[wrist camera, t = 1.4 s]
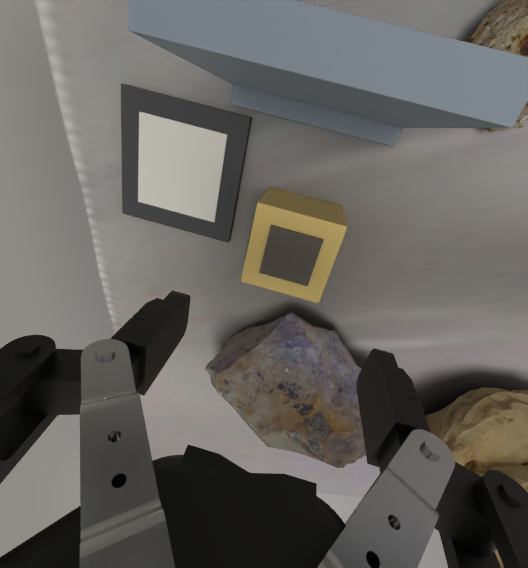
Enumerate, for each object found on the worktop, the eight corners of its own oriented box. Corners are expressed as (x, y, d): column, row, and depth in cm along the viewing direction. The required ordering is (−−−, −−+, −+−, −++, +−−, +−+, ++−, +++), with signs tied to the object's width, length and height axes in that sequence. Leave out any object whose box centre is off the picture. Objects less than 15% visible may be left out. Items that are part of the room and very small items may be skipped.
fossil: (474, 332, 27) (616, 518, 14) (600, 422, 30) (820, 652, 17) (361, 413, 35) (387, 587, 21) (470, 481, 37) (553, 675, 24)
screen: (244, 37, 20) (128, -104, 8) (417, 81, 20) (582, 4, 7) (233, 105, 22) (128, 76, 10) (391, 146, 22) (488, 169, 9)
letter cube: (268, 185, 24) (254, 202, 19) (341, 205, 24) (347, 227, 19) (253, 251, 27) (237, 281, 22) (318, 269, 27) (318, 304, 22)
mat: (125, 84, 23) (120, 83, 22) (251, 117, 22) (250, 117, 22) (126, 211, 27) (121, 213, 27) (230, 240, 27) (228, 242, 26)
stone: (424, 409, 18) (379, 536, 24) (405, 315, 26) (377, 427, 33) (165, 350, 22) (189, 470, 29) (223, 288, 31) (231, 391, 38)
